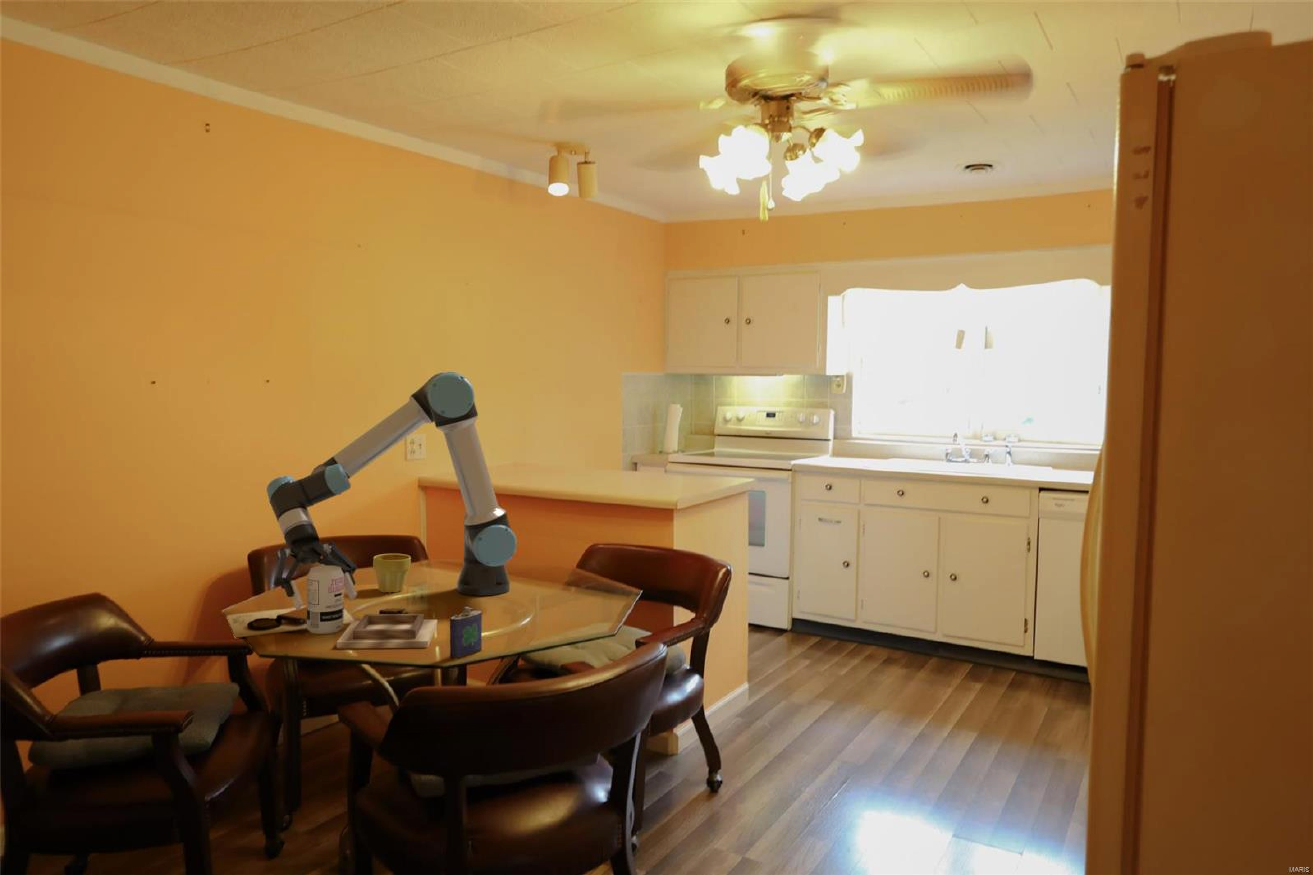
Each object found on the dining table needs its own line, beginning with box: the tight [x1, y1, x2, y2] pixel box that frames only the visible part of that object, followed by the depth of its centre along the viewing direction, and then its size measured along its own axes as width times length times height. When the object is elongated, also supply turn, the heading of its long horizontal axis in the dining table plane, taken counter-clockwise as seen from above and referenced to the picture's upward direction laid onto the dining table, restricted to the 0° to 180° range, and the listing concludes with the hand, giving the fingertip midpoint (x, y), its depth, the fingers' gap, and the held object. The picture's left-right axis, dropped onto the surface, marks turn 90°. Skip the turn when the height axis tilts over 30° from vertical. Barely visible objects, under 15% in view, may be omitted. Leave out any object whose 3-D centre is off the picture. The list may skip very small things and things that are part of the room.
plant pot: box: [372, 553, 412, 594], centre depth 250 cm, size 10×10×10 cm
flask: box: [449, 606, 483, 660], centre depth 195 cm, size 9×3×11 cm, turn 148°
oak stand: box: [336, 613, 438, 650], centre depth 206 cm, size 20×18×4 cm
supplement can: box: [306, 565, 345, 635], centre depth 210 cm, size 8×8×15 cm
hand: (327, 602), depth 208 cm, fingers open, 13 cm apart
